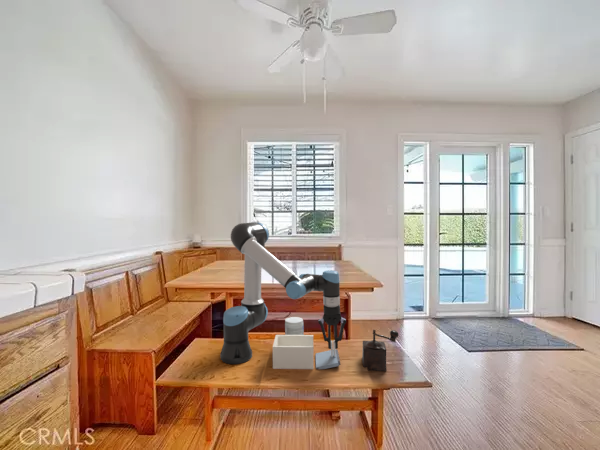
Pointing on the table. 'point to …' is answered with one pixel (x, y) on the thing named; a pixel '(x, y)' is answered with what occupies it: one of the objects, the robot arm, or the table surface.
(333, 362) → the light blue panel
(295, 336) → the box
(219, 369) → the table surface
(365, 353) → the dark brown coffee grinder
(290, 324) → the supplement tub
